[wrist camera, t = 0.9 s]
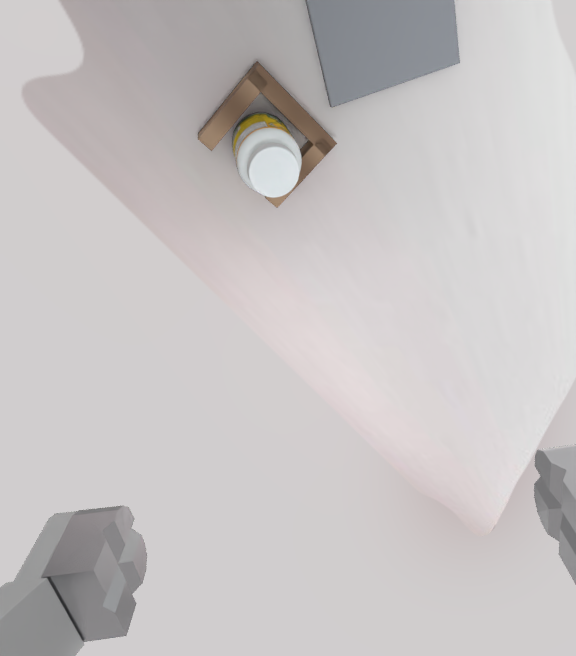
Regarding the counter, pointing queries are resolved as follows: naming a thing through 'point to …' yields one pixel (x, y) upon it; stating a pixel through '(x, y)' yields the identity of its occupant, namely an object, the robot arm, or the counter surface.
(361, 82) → the slate mat
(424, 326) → the counter surface
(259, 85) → the slot holder
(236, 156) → the supplement bottle
